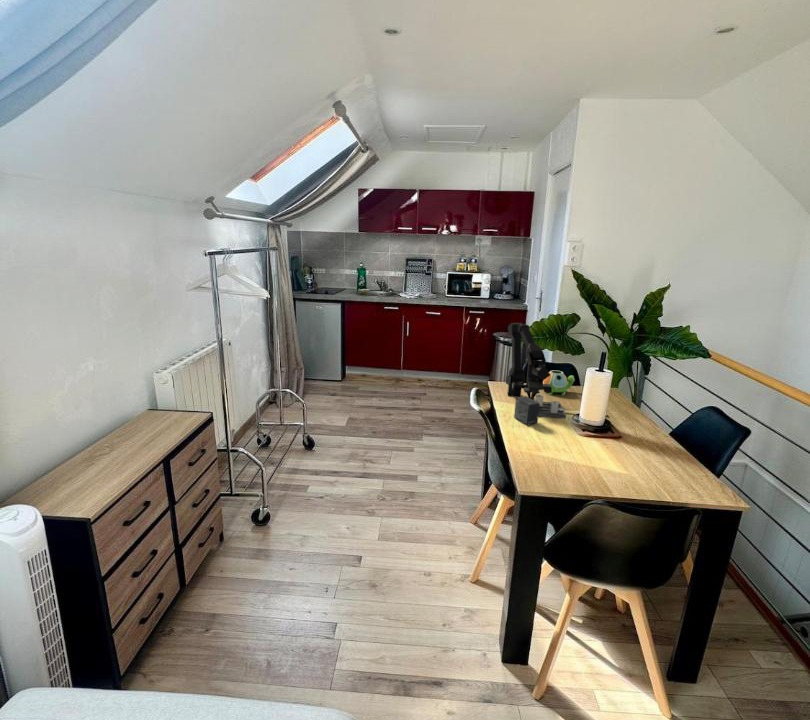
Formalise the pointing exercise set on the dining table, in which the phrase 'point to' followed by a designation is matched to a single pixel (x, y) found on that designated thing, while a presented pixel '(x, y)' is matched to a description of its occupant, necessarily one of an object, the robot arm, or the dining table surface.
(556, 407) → the fader
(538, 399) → the fader
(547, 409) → the console
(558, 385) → the turtle holder
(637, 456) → the dining table surface
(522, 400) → the small box
